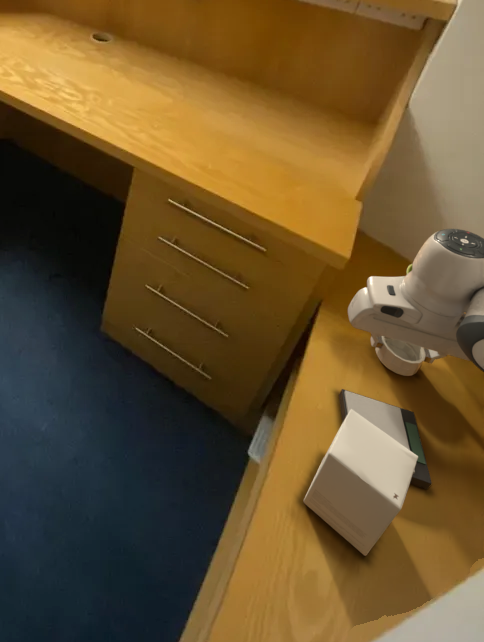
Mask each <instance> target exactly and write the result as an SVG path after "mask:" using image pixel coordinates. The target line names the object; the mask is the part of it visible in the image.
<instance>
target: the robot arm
mask: <svg viewBox="0 0 484 642" xmlns="http://www.w3.org/2000/svg"><path fill="white" fill-rule="evenodd" d="M412 264H413V265H412V271H410V272H409V273H408V274H406V275H402V276H401V275H400V276H377V275H371V276H369V277H367V280H366V286H365V287H362V288H361V289H359V290H358V291H357V292H356V294H355V295H354V296H353V298H352V299H351V301H350V302H349V304H348V307H347V315H348V316H347V317H348V320H349V323H350V325H351V326H352V327H353V328H355V329H356V330H361V331H363V332H368V333H370V335H371V336H370V340H369V341H370V345H371V347H373V348H375V347H377V348H380V349H381V348H382V346H383V341H382V336H385V337H388V338H392V339H395V340H399V341H402V342H405V343H409V344H412V345H416V346H419V347H423V348H424V350H425V354H426V356H425V360H424V361H423V363H427V364H431V365H432V364H433V363H434V362H435V360H439V359H443V358H446V357H447V356H451V357H455V358H458V359H461V360H465V361H468V362H471V363H472V364H473V365H474V366H475V367H477V369H478V370H480V371H481V372H483V373H484V237H482V236H481V235H478V234H476V233H474V232H472V231H470V230H469V231H468V230H465V229H460V228H446V229H444V228H443V229H441V230H438V231H436V232H434V233H433V234H432V235H430V236H429V237H428V238H427V239H426V240H425V241H424V243H423V245H422V246H421V247H420V248H419V251H418V252H417V254H416V255H415V257H414V259H413V262H412Z"/></svg>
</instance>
